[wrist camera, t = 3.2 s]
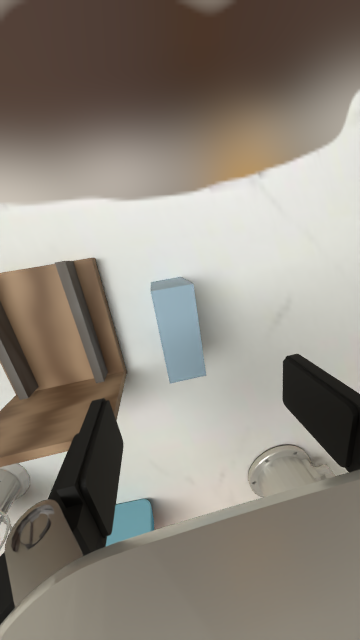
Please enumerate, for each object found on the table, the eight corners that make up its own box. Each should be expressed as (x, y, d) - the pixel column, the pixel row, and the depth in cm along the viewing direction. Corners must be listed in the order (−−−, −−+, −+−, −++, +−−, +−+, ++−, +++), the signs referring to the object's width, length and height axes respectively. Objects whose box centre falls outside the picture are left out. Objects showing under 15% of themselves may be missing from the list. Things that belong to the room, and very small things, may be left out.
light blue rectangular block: (181, 276, 26) (193, 283, 19) (191, 345, 29) (206, 375, 22) (150, 282, 26) (150, 291, 18) (165, 351, 29) (169, 383, 21)
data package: (89, 526, 37) (61, 645, 26) (83, 510, 36) (51, 628, 24) (154, 512, 38) (155, 619, 27) (151, 496, 37) (151, 602, 25)
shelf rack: (94, 258, 24) (47, 256, 13) (126, 372, 29) (112, 440, 18) (-30, 278, 23) (-193, 295, 12) (26, 393, 28) (-55, 480, 17)
